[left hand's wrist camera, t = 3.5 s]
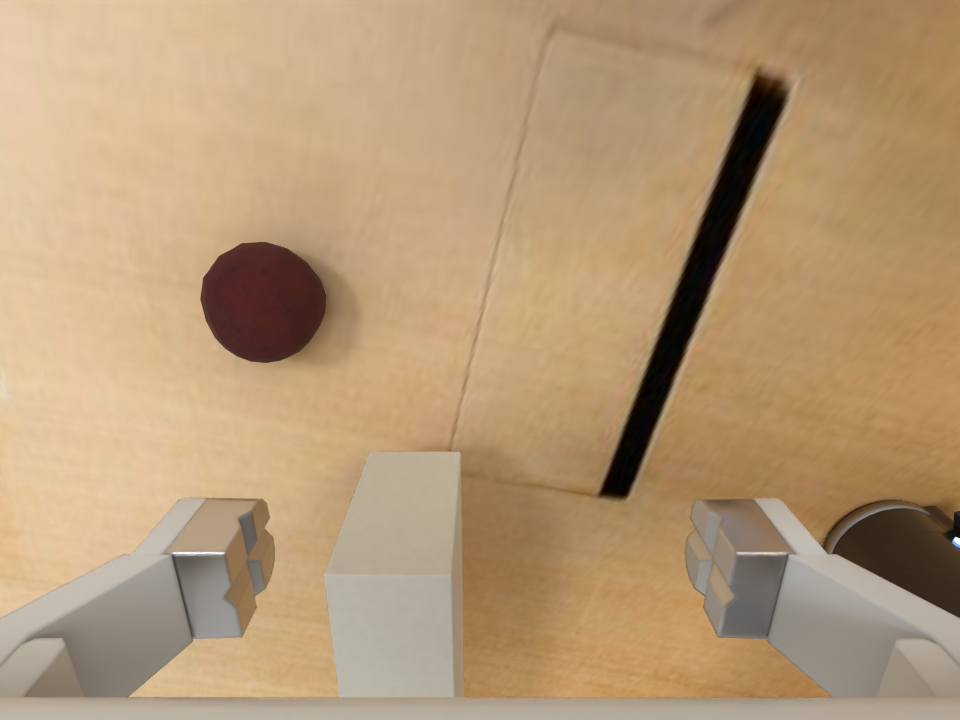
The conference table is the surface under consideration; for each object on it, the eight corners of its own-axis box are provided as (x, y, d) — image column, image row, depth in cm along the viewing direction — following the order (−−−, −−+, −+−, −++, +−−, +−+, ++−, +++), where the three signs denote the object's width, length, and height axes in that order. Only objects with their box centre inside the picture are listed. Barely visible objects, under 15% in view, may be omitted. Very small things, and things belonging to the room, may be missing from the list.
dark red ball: (258, 351, 41) (216, 391, 35) (211, 250, 38) (156, 272, 32) (351, 325, 40) (326, 360, 34) (311, 220, 38) (275, 236, 31)
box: (369, 450, 38) (323, 575, 27) (461, 451, 38) (451, 575, 27) (391, 724, 47) (364, 897, 37) (464, 724, 47) (458, 897, 37)
